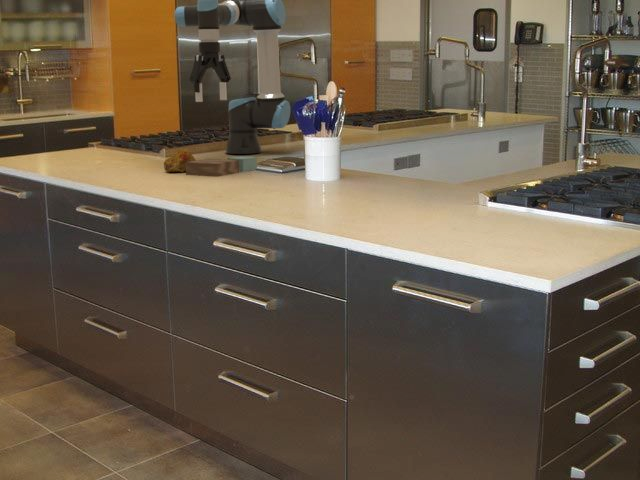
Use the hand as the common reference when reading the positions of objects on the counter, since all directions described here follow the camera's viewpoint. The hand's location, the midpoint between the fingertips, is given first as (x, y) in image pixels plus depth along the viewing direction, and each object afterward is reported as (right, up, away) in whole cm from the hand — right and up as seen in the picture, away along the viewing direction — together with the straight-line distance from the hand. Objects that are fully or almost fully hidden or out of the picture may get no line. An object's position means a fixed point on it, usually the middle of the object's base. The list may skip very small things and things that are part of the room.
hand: (211, 100), depth 326 cm
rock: (-9, -25, +11) cm, 29 cm away
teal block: (+10, -25, +13) cm, 30 cm away
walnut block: (0, -27, +3) cm, 27 cm away
